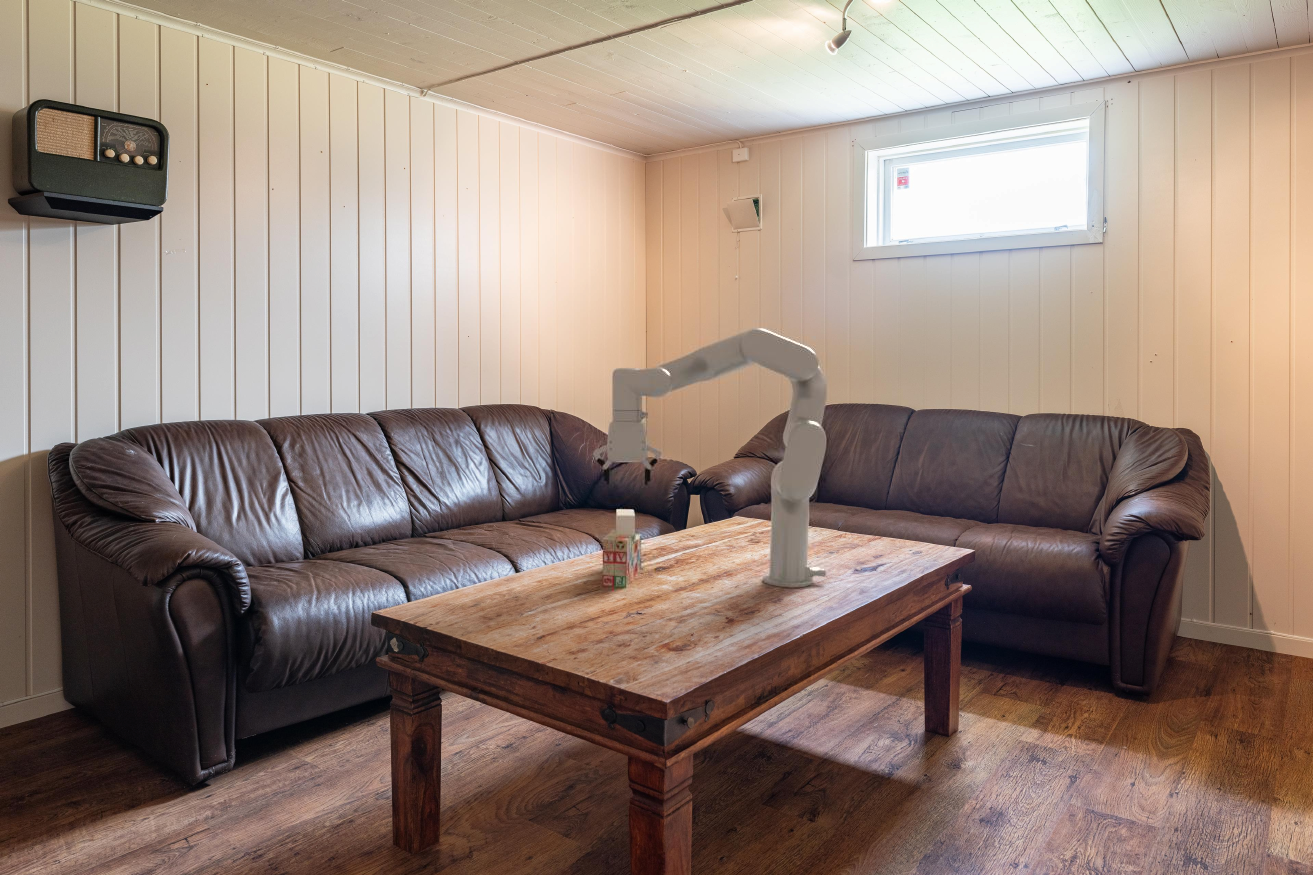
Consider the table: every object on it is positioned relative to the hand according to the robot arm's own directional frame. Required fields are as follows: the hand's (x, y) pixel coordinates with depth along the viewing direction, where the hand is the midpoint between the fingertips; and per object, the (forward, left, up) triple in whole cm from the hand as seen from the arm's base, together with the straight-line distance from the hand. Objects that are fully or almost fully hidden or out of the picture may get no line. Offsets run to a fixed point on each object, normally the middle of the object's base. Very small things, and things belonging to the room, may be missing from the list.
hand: (627, 484), depth 221 cm
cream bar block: (0, -1, -12) cm, 12 cm away
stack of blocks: (+1, -2, -25) cm, 25 cm away
